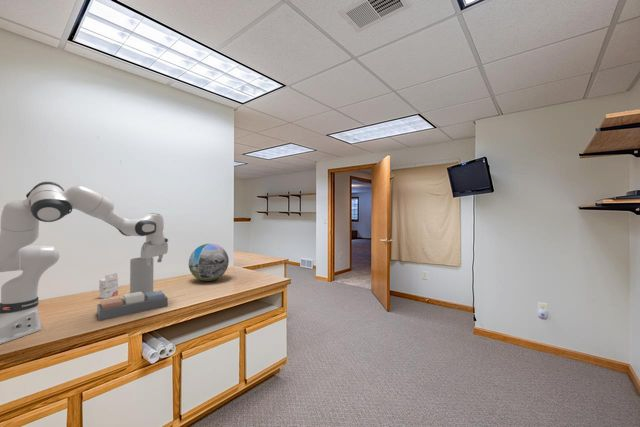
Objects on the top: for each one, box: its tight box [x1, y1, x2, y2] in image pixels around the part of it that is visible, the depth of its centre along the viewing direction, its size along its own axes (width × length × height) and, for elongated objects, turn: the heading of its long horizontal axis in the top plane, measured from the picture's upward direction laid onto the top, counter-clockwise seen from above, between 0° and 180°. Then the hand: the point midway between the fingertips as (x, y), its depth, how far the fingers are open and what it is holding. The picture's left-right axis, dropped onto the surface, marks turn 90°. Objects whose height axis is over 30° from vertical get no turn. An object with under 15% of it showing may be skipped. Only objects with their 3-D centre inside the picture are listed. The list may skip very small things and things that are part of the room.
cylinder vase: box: [129, 256, 154, 296], centre depth 171 cm, size 12×12×25 cm
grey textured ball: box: [188, 243, 230, 282], centre depth 213 cm, size 30×30×30 cm
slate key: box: [145, 290, 165, 301], centre depth 156 cm, size 8×8×4 cm
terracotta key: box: [100, 297, 123, 309], centre depth 142 cm, size 8×8×4 cm
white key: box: [123, 292, 144, 305], centre depth 149 cm, size 8×8×4 cm
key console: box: [96, 294, 169, 321], centre depth 149 cm, size 31×13×5 cm, turn 134°
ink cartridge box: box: [98, 272, 119, 300], centre depth 171 cm, size 9×5×15 cm, turn 168°
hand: (154, 263), depth 156 cm, fingers open, 8 cm apart
